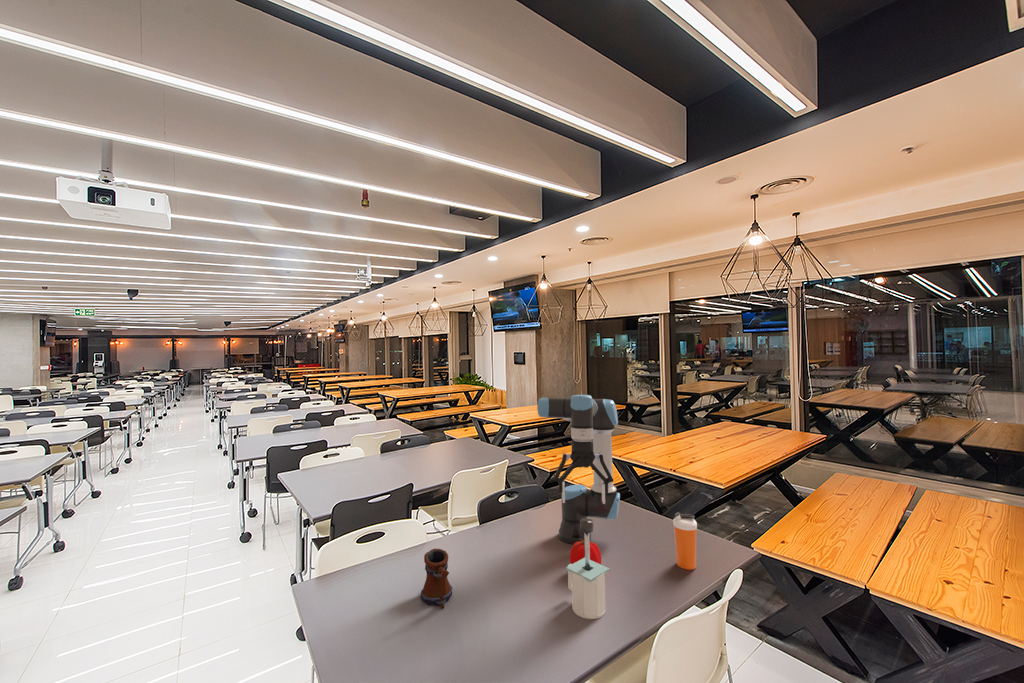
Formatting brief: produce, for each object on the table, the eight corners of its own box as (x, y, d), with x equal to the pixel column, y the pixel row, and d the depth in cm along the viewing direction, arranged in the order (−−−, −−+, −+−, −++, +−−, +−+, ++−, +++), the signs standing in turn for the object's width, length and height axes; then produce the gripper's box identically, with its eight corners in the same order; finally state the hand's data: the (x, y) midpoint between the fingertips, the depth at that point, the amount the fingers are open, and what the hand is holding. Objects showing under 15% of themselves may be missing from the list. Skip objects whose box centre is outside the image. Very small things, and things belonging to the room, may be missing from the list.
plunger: (571, 576, 136) (570, 520, 137) (586, 568, 141) (584, 514, 142) (589, 585, 130) (588, 527, 131) (604, 576, 135) (602, 521, 136)
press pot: (559, 604, 138) (558, 564, 138) (580, 591, 145) (579, 553, 145) (591, 624, 127) (590, 580, 128) (612, 609, 134) (611, 568, 135)
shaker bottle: (701, 572, 156) (699, 519, 157) (676, 570, 158) (675, 518, 159) (695, 560, 165) (693, 511, 166) (672, 558, 167) (670, 510, 168)
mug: (462, 611, 135) (462, 565, 136) (428, 621, 130) (428, 573, 131) (447, 584, 151) (447, 543, 152) (417, 592, 146) (416, 550, 147)
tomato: (605, 582, 151) (604, 546, 151) (573, 584, 150) (572, 547, 150) (597, 566, 162) (596, 532, 163) (567, 567, 161) (566, 534, 162)
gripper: (546, 441, 137) (547, 505, 136) (620, 441, 135) (622, 506, 134) (546, 437, 145) (547, 497, 143) (616, 437, 143) (618, 499, 141)
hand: (583, 502), depth 138 cm, fingers open, 13 cm apart
